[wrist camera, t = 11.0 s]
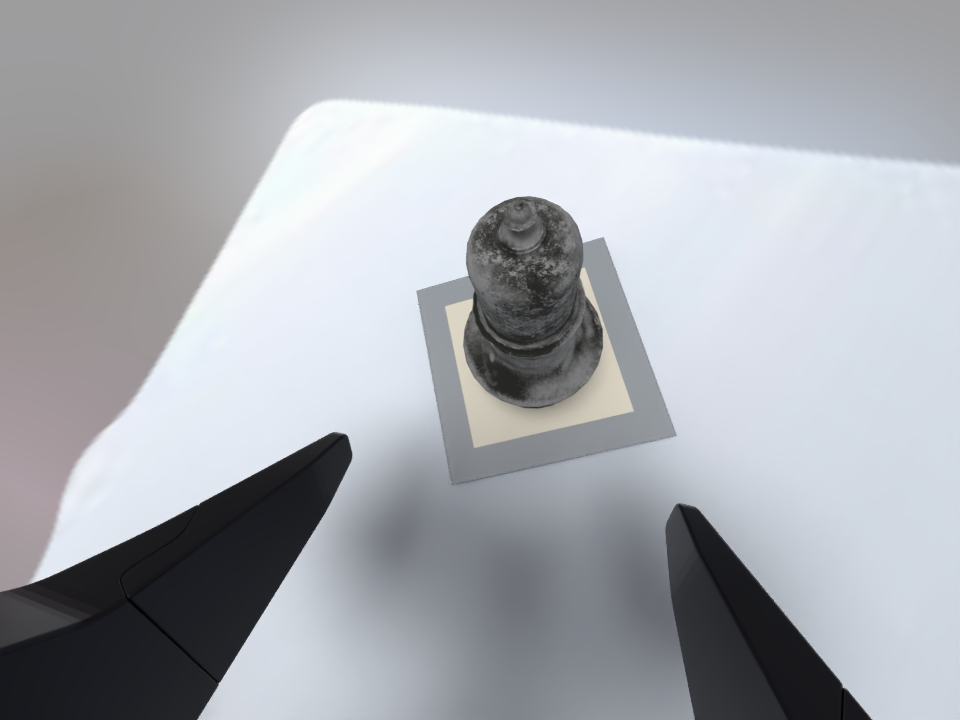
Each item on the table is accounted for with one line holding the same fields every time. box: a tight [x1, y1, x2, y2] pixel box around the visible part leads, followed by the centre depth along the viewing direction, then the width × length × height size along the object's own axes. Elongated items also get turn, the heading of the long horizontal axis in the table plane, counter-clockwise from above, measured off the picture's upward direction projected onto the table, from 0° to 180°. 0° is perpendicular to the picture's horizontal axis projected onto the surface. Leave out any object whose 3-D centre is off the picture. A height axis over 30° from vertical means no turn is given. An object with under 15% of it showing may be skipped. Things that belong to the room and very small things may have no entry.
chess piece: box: [463, 196, 603, 409], centre depth 12 cm, size 6×6×12 cm
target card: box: [417, 237, 677, 485], centre depth 18 cm, size 11×11×1 cm
